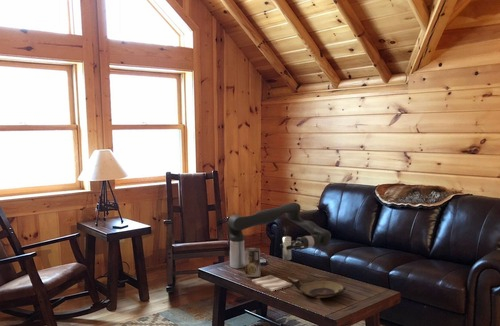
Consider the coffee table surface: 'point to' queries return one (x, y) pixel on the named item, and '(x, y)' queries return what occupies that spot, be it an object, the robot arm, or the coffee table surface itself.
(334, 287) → the oil lamp
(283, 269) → the coffee table surface
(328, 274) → the coffee table surface
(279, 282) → the ash board
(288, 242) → the metal tin
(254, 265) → the coffee box
